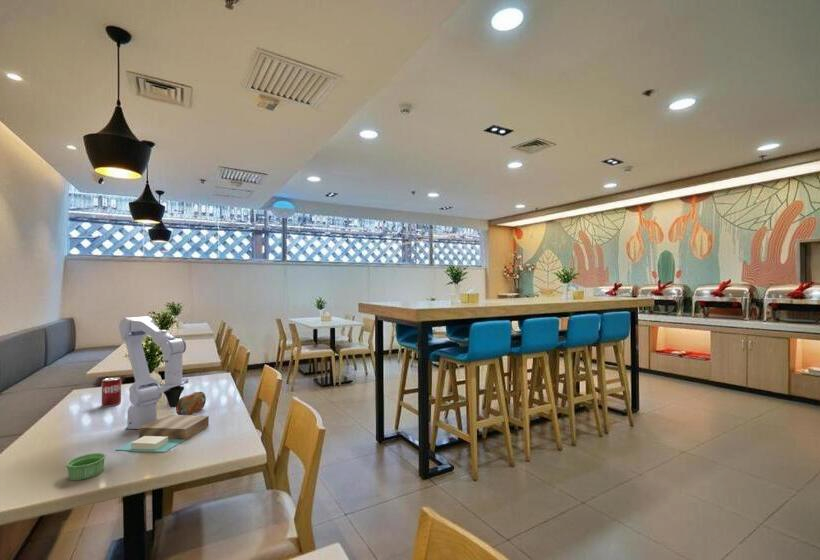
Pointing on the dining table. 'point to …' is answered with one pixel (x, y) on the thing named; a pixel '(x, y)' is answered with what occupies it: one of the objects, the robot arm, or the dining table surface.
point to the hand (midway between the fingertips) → (173, 406)
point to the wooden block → (175, 426)
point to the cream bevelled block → (149, 442)
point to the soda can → (111, 391)
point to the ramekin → (86, 466)
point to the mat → (163, 448)
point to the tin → (191, 403)
